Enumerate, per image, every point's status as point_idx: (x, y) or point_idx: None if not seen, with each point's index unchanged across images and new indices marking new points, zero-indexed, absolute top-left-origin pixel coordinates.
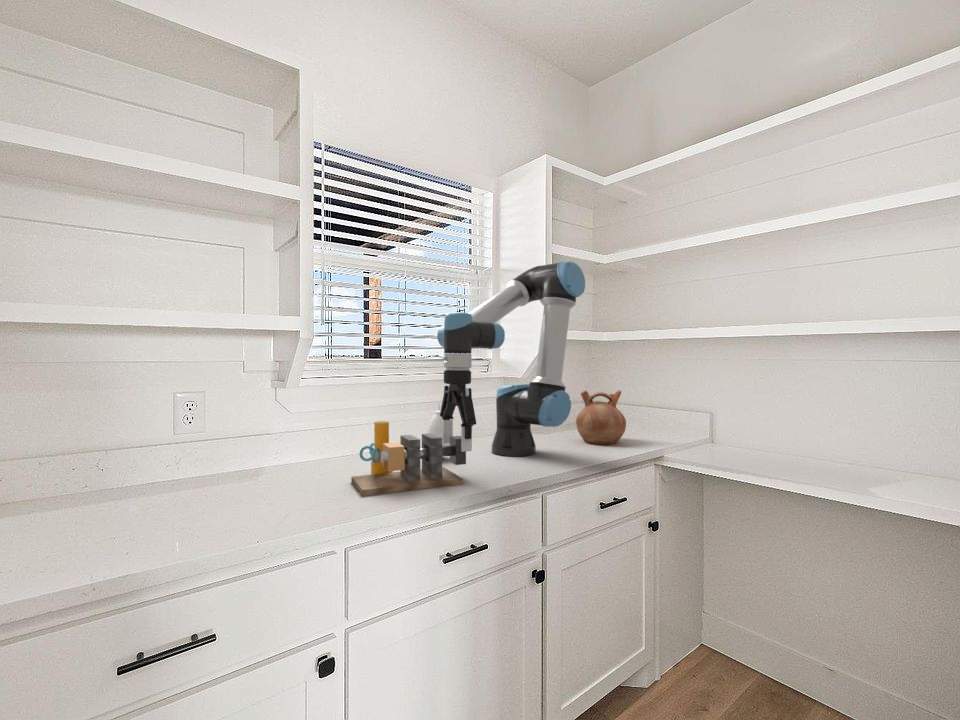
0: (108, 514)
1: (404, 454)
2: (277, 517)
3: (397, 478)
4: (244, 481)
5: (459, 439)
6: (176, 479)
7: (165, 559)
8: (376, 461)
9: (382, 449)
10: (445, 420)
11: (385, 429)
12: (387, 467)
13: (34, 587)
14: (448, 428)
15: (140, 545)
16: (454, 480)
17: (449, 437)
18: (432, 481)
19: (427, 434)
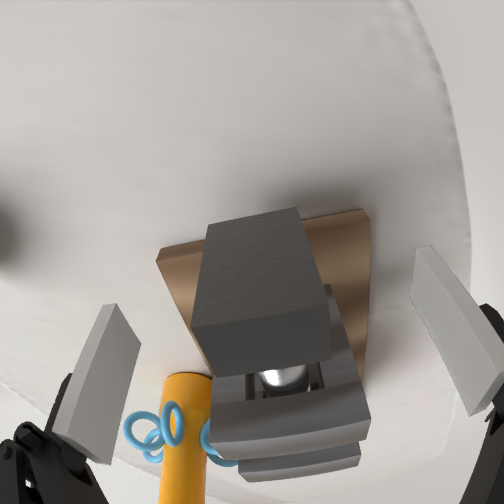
0: (306, 490)
1: None
2: (390, 437)
3: None
4: (209, 473)
5: (329, 338)
6: None
7: (436, 443)
8: None
9: (206, 452)
10: (103, 460)
11: (200, 502)
12: None
13: (431, 458)
14: (103, 398)
15: (398, 461)
16: (369, 247)
17: (115, 343)
18: (363, 312)
19: (247, 452)
